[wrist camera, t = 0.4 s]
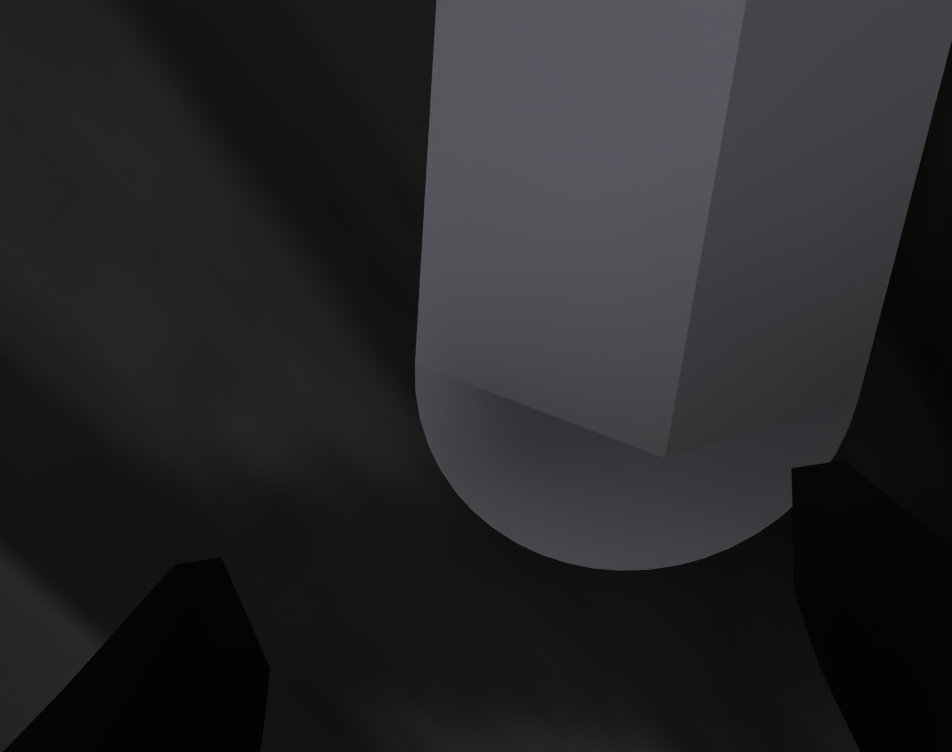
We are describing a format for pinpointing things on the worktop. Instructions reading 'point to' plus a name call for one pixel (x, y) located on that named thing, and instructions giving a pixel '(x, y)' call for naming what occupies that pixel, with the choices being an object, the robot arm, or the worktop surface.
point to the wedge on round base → (659, 256)
